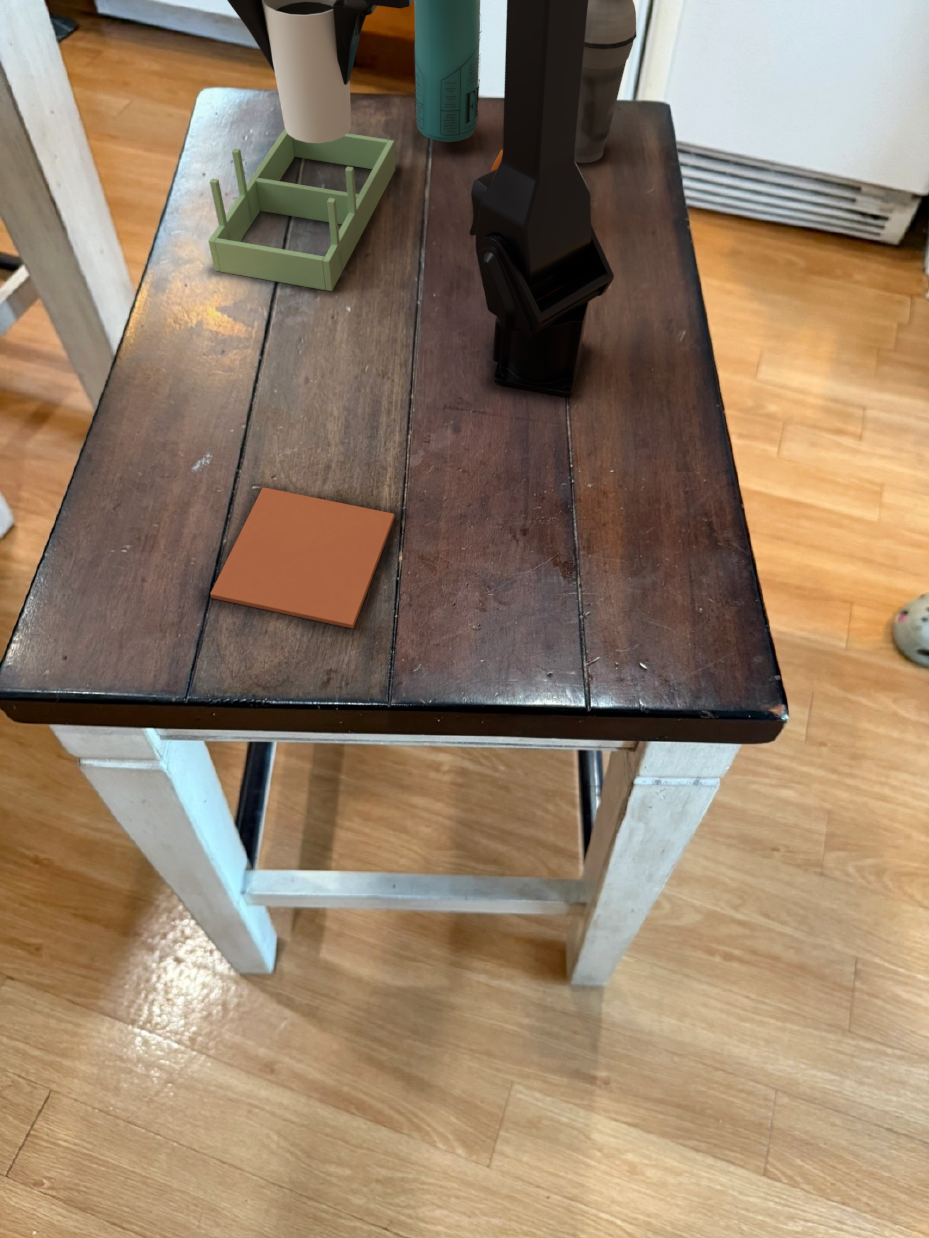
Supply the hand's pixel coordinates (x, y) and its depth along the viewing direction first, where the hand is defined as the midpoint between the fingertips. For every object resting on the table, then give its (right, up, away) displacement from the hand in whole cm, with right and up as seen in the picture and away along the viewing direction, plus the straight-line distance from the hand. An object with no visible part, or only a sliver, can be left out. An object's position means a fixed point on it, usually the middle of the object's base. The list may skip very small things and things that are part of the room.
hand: (313, 78), depth 77 cm
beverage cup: (+25, +3, +18) cm, 31 cm away
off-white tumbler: (0, -2, +3) cm, 4 cm away
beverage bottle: (+11, +4, +19) cm, 22 cm away
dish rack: (-2, -7, +10) cm, 13 cm away
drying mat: (+2, -41, -13) cm, 43 cm away
